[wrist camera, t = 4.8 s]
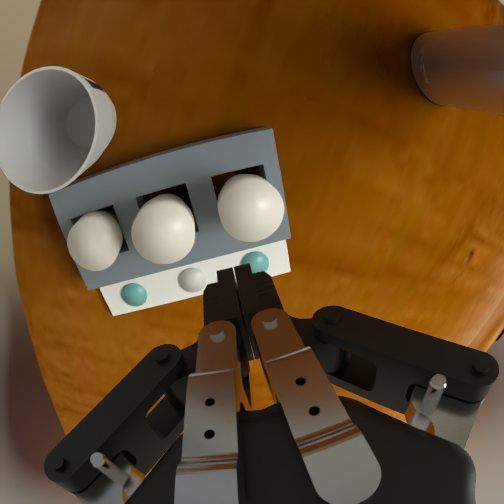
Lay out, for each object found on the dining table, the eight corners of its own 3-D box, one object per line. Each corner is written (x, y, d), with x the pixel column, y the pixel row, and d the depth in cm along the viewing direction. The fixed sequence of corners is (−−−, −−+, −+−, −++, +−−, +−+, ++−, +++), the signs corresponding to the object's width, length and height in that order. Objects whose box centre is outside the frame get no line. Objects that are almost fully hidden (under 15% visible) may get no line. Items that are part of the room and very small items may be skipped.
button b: (186, 181, 24) (185, 196, 20) (200, 231, 26) (202, 255, 22) (134, 196, 24) (122, 214, 20) (150, 245, 26) (143, 270, 22)
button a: (264, 162, 25) (278, 173, 21) (273, 213, 27) (288, 233, 23) (209, 175, 24) (212, 188, 20) (221, 226, 27) (227, 248, 22)
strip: (283, 235, 31) (285, 238, 31) (289, 268, 33) (291, 272, 32) (99, 283, 30) (97, 287, 29) (114, 312, 32) (113, 316, 31)
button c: (119, 196, 26) (106, 212, 22) (134, 241, 28) (126, 263, 24) (77, 210, 25) (59, 228, 21) (93, 253, 27) (80, 276, 23)
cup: (142, 87, 23) (115, 74, 14) (119, 173, 26) (83, 205, 17) (64, 74, 20) (8, 63, 11) (44, 157, 23) (-13, 183, 14)
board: (264, 126, 26) (272, 128, 24) (282, 226, 31) (291, 238, 28) (60, 186, 25) (48, 194, 22) (95, 275, 29) (88, 290, 27)
